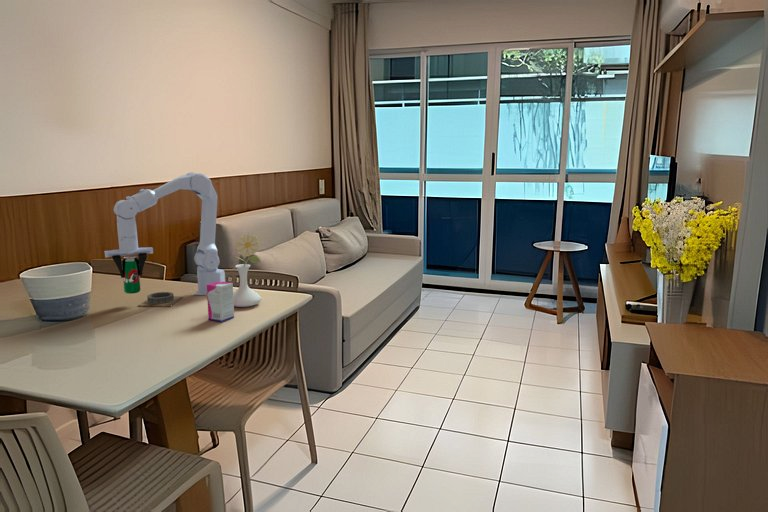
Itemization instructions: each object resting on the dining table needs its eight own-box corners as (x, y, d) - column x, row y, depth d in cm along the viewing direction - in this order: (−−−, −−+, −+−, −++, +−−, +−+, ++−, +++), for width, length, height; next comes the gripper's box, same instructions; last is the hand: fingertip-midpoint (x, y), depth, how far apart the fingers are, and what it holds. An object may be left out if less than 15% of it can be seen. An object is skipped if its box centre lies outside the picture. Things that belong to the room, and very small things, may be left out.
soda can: (143, 290, 181) (141, 256, 179) (135, 294, 176) (133, 258, 174) (129, 290, 181) (126, 256, 179) (121, 293, 176) (118, 258, 174)
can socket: (182, 297, 188) (182, 291, 188) (170, 306, 178) (169, 299, 177) (152, 297, 188) (151, 290, 188) (137, 306, 178) (137, 299, 177)
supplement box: (235, 317, 167) (233, 282, 165) (222, 322, 162) (220, 286, 160) (220, 314, 170) (219, 280, 167) (207, 320, 164) (205, 284, 162)
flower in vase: (220, 307, 178) (216, 234, 173) (241, 298, 188) (238, 229, 183) (252, 311, 173) (249, 236, 168) (272, 302, 183) (269, 232, 178)
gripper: (103, 240, 168) (107, 281, 170) (152, 236, 175) (156, 276, 177) (102, 236, 174) (107, 276, 176) (150, 233, 181) (153, 272, 183)
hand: (131, 276), depth 177 cm, fingers closed on soda can, 5 cm apart
